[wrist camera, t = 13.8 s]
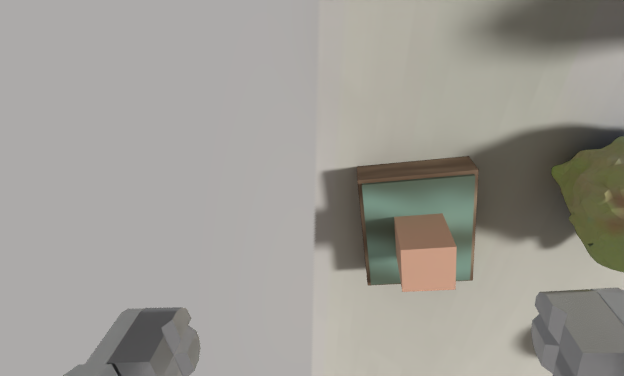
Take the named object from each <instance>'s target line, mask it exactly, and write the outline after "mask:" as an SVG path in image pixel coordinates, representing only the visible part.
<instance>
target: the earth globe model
mask: <svg viewBox="0 0 624 376" xmlns="http://www.w3.org/2000/svg"><path fill="white" fill-rule="evenodd" d="M551 175H552V176H553V178H554V179H555V180H556V182H557V183H558V184H559V186H560V187H561V193H562V195H563V196H564V200H565V202H566V205H567V207H568V209H569V211H570V213H571V215H570V217H569V221H570V222H571V223H572V224H573V225H574V227H575V230H576V233H577V235H578V237H579V238H580V239H581V241H582V242H583V244H584V246H585V248H586V249H587V251H588V253H589V254H590V256H591V257H592V258H593V259H594V260H595V261H596V262H597V263H599V264H601V265H603V266H604V267H608V268H610V269H613V270H616V271H620V272H624V135H623V136H620V137H617V138H616V139H615V140H614V141H613V142H612V143H611V144H610V145H608V146H606V147H604V148H601V149H591V150H583V151H580V152H578V153H577V154H576V155H575V156H574V157H573V158H572V159H571V160H570V161H567V162H565V163H563V164H561V165H556V166H553V168H552V171H551Z"/></svg>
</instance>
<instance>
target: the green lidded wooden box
mask: <svg viewBox="0 0 624 376" xmlns="http://www.w3.org/2000/svg"><path fill="white" fill-rule="evenodd" d="M478 172H479V170H478V168H477V167H476V166H475V164H474V163H473V162H472V160H471V159H470V157H469V156H467V157H456V158H445V159H434V160H424V161H413V162H402V163H391V164H380V165H370V166H359V167H357V181H358V191H359V201H360V211H361V221H362V232H363V242H364V252H365V262H366V272H367V282H368V285H386V284H401V280H400V274H399V268H398V263H397V257H396V243H395V224H394V217H399V216H413V215H427V214H440V213H443V216H444V218H445V220H446V223H447V225H448V227H449V230H450V232H451V235H452V237H453V239H454V242H455V244H456V246H457V252H456V281H470V280H473V263H474V245H475V227H476V208H477V190H478Z"/></svg>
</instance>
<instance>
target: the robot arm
mask: <svg viewBox="0 0 624 376" xmlns="http://www.w3.org/2000/svg"><path fill="white" fill-rule="evenodd" d="M535 307H536V308H537V310H538V312H539V315H538V316H537V317H536V318H534V319H533V320H532V329H531V334H532V341H533V346H534V349H535V352H536V355H537V357H538V359H539V361H540V363H541V365H542V366H543V367H545V368H546V369H547V370H549V371H550V372H551V373H553V376H624V291H623V290H621V289H619V288H603V289H591V290H588V289H586V290H567V291H547V292H539V294H538V295H537V296H536V302H535ZM190 320H191V317H190V315H189V313H188V310H187V309H186V308H145V309H127V310H125V311H124V312H122V313H121V314H120V315H119V317H118V318H117V320H116V321H115V322H114V324H113V325H112V327H111V328H110V329H109V331H108V332H107V334H106V335H105V337H104V338H103V339H102V341H101V342H100V344H99V345H98V346H97V348H96V349H95V351H94V352H93V353H92V355H91V356H90V358H89V359H88V360H87V362H86V363H85V364H84V365H78V366H76V367H75V368H73V369H72V370H70V371H69V372H68V373H66V374H65V375H63V376H189V375H190V374H191V373H192V372H194V371H195V368H196V365H197V363H198V360H199V353H200V341H199V337H198V334H197V332H196V331H195V330H194V329H193V328H191V327H190V326H189V325H188V324H189V322H190Z"/></svg>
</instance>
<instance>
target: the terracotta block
mask: <svg viewBox="0 0 624 376" xmlns="http://www.w3.org/2000/svg"><path fill="white" fill-rule="evenodd" d="M394 224H395V243H396V257H397V263H398V268H399V274H400V280H401V286H402V292H409V291H432V290H454V289H455V285H456V252H457V246H456V244H455V242H454V239H453V237H452V235H451V232H450V230H449V227H448V225H447V223H446V220H445V218H444V216H443V213H440V214H427V215H413V216H399V217H394Z"/></svg>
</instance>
